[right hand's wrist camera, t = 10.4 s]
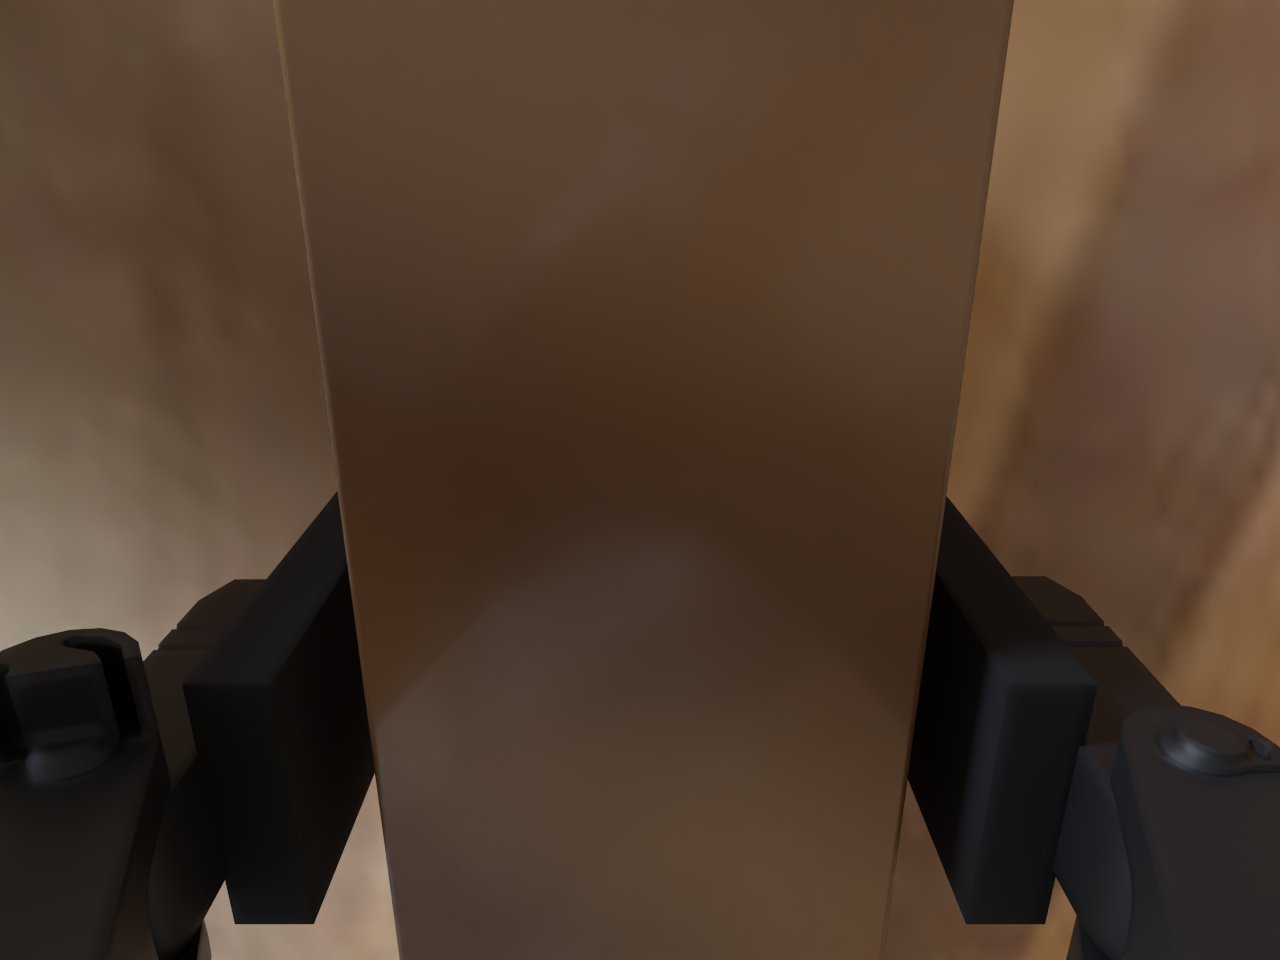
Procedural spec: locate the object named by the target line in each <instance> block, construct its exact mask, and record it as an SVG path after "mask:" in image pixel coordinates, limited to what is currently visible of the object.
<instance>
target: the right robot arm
mask: <svg viewBox="0 0 1280 960" xmlns="http://www.w3.org/2000/svg"><path fill="white" fill-rule="evenodd" d="M374 773H375V768H374V761H373V753H372V746H371V738H370V731H369V723H368V716H367V708H366V701H365V693H364V686H363V678H362V671H361V663H360V656H359V648H358V641H357V633H356V625H355V618H354V610H353V603H352V595H351V588H350V580H349V573H348V565H347V558H346V550H345V543H344V535H343V528H342V520H341V513H340V505H339V497H338V491H337V492H336V493H335V495H334V496H333V497H332V498H331V500H330V501H329V502H328V503H327V505H326V506H325V507H324V508H323V510H322V511H321V512H320V513H319V515H318V516H317V517H316V518H315V520H314V521H313V522H312V523H311V525H310V526H309V527H308V528H307V530H306V531H305V532H304V533H303V535H302V536H301V537H300V538H299V540H298V541H297V542H296V543H295V545H294V546H293V547H292V548H291V550H290V551H289V552H288V553H287V555H286V556H285V557H284V558H283V559H282V561H281V562H280V563H279V564H278V566H277V567H276V568H275V569H274V571H273V572H272V573H271V574H270V576H269V577H268V578H267V579H235V580H233V581H231V582H230V583H228V584H226V585H224V586H223V587H221V588H219V589H218V590H216V591H214V592H212V593H211V594H209V595H207V596H206V597H204V598H202V599H200V600H199V601H198V602H197V603H196V604H195V605H194V606H193V607H192V609H191V610H190V611H189V612H188V613H187V614H186V615H185V616H184V617H183V618H182V620H181V621H180V622H179V623H178V624H177V629H174V630H173V629H172V631H171V632H170V633H169V634H168V635H167V636H166V637H165V638H164V639H163V641H162V642H161V643H160V644H159V648H158V650H153V652H152V653H151V654H150V655H149V656H148V657H147V658H146V659H145V660H144V661H143V660H142V656H141V652H140V648H139V643H138V641H136V640H135V639H133V638H132V637H130V636H129V635H128V634H126V633H125V632H120V631H114V630H108V629H102V628H96V629H79V630H68V631H63V632H59V633H55V634H50V635H46V636H41V637H37V638H34V639H31V640H28V641H26V642H23V643H21V644H18V645H15V646H13V647H10V648H8V649H5V650H2V651H1V652H0V960H211V950H210V944H209V937H208V933H207V929H206V925H205V921H204V917H205V916H206V914H207V912H208V910H209V908H210V906H211V905H212V903H213V901H214V899H215V897H216V895H217V893H218V892H219V890H220V888H221V886H222V884H223V882H224V881H226V886H227V890H228V895H229V899H230V904H231V908H232V913H233V917H234V922H235V924H314V922H315V920H316V917H317V915H318V912H319V910H320V907H321V905H322V902H323V900H324V897H325V895H326V892H327V890H328V887H329V885H330V882H331V880H332V877H333V875H334V873H335V870H336V868H337V865H338V863H339V860H340V858H341V855H342V853H343V850H344V848H345V845H346V843H347V840H348V838H349V835H350V833H351V830H352V828H353V825H354V823H355V820H356V818H357V815H358V813H359V810H360V808H361V806H362V803H363V801H364V798H365V796H366V793H367V791H368V788H369V786H370V783H371V781H372V778H373V776H374ZM908 781H909V783H910V786H911V788H912V791H913V793H914V796H915V798H916V801H917V803H918V806H919V808H920V811H921V813H922V815H923V818H924V820H925V823H926V825H927V828H928V830H929V833H930V835H931V838H932V840H933V843H934V845H935V848H936V850H937V853H938V855H939V858H940V860H941V863H942V865H943V868H944V870H945V873H946V875H947V878H948V880H949V883H950V885H951V887H952V890H953V892H954V895H955V897H956V900H957V902H958V905H959V907H960V910H961V912H962V915H963V917H964V920H965V922H966V924H1045V922H1046V917H1047V913H1048V908H1049V904H1050V899H1051V895H1052V890H1053V886H1054V881H1055V877H1056V878H1057V880H1058V881H1059V883H1060V885H1061V887H1062V889H1063V891H1064V892H1065V894H1066V896H1067V898H1068V900H1069V902H1070V903H1071V905H1072V907H1073V909H1074V911H1075V913H1076V914H1077V916H1076V921H1075V925H1074V929H1073V933H1072V937H1071V942H1070V946H1069V950H1068V954H1067V958H1066V960H1280V747H1279V746H1277V745H1276V744H1274V743H1273V742H1271V741H1270V740H1268V739H1267V738H1266V737H1264V736H1263V735H1261V734H1260V733H1258V732H1257V731H1256V730H1254V729H1252V728H1250V727H1248V726H1245V725H1243V724H1241V723H1239V722H1236V721H1234V720H1232V719H1230V718H1228V717H1225V716H1223V715H1220V714H1216V713H1212V712H1208V711H1204V710H1201V709H1197V708H1193V707H1187V706H1181V705H1180V704H1179V703H1178V702H1177V701H1176V700H1175V699H1174V698H1173V697H1172V695H1171V694H1170V693H1169V692H1168V691H1167V690H1166V689H1165V688H1164V687H1163V686H1162V685H1161V683H1160V682H1159V681H1158V680H1157V679H1156V678H1155V677H1154V676H1153V675H1152V674H1151V673H1150V671H1149V670H1148V669H1147V668H1146V667H1145V666H1144V665H1143V664H1142V663H1141V662H1140V660H1139V659H1138V658H1137V657H1136V656H1135V655H1134V654H1133V653H1132V652H1131V651H1130V650H1129V648H1128V647H1123V646H1122V641H1121V640H1120V639H1119V638H1118V636H1117V635H1116V634H1115V633H1114V632H1113V631H1112V630H1111V629H1110V628H1109V627H1108V626H1104V621H1103V620H1102V619H1101V618H1100V617H1099V616H1098V615H1097V613H1096V612H1095V611H1094V610H1093V609H1092V608H1091V607H1090V606H1089V605H1088V604H1087V603H1086V601H1085V600H1084V599H1083V598H1082V597H1080V596H1079V595H1077V594H1075V593H1073V592H1072V591H1070V590H1068V589H1067V588H1065V587H1063V586H1061V585H1060V584H1058V583H1056V582H1054V581H1053V580H1051V579H1049V578H1048V577H1046V576H1010V574H1009V573H1008V572H1007V571H1006V569H1005V568H1004V567H1003V566H1002V565H1001V563H1000V562H999V561H998V560H997V558H996V557H995V556H994V555H993V553H992V552H991V551H990V550H989V548H988V547H987V546H986V545H985V543H984V542H983V541H982V540H981V538H980V537H979V536H978V535H977V533H976V532H975V531H974V530H973V528H972V527H971V526H970V525H969V523H968V522H967V521H966V520H965V518H964V517H963V516H962V515H961V513H960V512H959V511H958V510H957V508H956V507H955V506H954V505H953V503H952V502H951V501H950V500H949V498H948V497H947V496H946V501H945V509H944V516H943V523H942V531H941V538H940V545H939V553H938V560H937V567H936V575H935V582H934V589H933V597H932V604H931V611H930V618H929V626H928V633H927V640H926V648H925V655H924V662H923V670H922V677H921V684H920V692H919V699H918V706H917V714H916V721H915V728H914V736H913V743H912V750H911V757H910V765H909V772H908Z"/></svg>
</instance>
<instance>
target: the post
mask: <svg viewBox="0 0 1280 960" xmlns="http://www.w3.org/2000/svg"><path fill="white" fill-rule="evenodd" d="M272 1H273V8H274V16H275V23H276V31H277V38H278V46H279V53H280V61H281V68H282V76H283V83H284V91H285V99H286V106H287V114H288V121H289V129H290V136H291V144H292V151H293V159H294V166H295V174H296V181H297V189H298V196H299V204H300V211H301V219H302V226H303V234H304V242H305V249H306V257H307V264H308V272H309V279H310V287H311V294H312V302H313V309H314V317H315V324H316V332H317V339H318V347H319V354H320V362H321V370H322V377H323V385H324V392H325V400H326V407H327V415H328V422H329V430H330V437H331V445H332V452H333V460H334V467H335V475H336V482H337V490H338V497H339V505H340V513H341V520H342V528H343V535H344V543H345V550H346V558H347V565H348V573H349V580H350V588H351V595H352V603H353V610H354V618H355V625H356V633H357V641H358V648H359V656H360V663H361V671H362V678H363V686H364V693H365V701H366V708H367V716H368V723H369V731H370V738H371V746H372V753H373V761H374V768H375V776H376V784H377V791H378V799H379V806H380V814H381V821H382V829H383V836H384V844H385V851H386V859H387V866H388V874H389V881H390V889H391V896H392V904H393V911H394V919H395V927H396V934H397V942H398V949H399V957H400V960H883V955H884V948H885V940H886V933H887V926H888V918H889V911H890V904H891V896H892V889H893V882H894V875H895V867H896V860H897V853H898V845H899V838H900V831H901V823H902V816H903V809H904V801H905V794H906V787H907V779H908V772H909V765H910V757H911V750H912V743H913V736H914V728H915V721H916V714H917V706H918V699H919V692H920V684H921V677H922V670H923V662H924V655H925V648H926V640H927V633H928V626H929V618H930V611H931V604H932V597H933V589H934V582H935V575H936V567H937V560H938V553H939V545H940V538H941V531H942V523H943V516H944V509H945V501H946V494H947V487H948V479H949V472H950V465H951V458H952V450H953V443H954V436H955V428H956V421H957V414H958V406H959V399H960V392H961V384H962V377H963V370H964V362H965V355H966V348H967V340H968V333H969V326H970V319H971V311H972V304H973V297H974V289H975V282H976V275H977V267H978V260H979V253H980V245H981V238H982V231H983V223H984V216H985V209H986V201H987V194H988V187H989V180H990V172H991V165H992V158H993V150H994V143H995V136H996V128H997V121H998V114H999V106H1000V99H1001V92H1002V84H1003V77H1004V70H1005V62H1006V55H1007V48H1008V41H1009V33H1010V26H1011V19H1012V11H1013V4H1014V0H272Z"/></svg>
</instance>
